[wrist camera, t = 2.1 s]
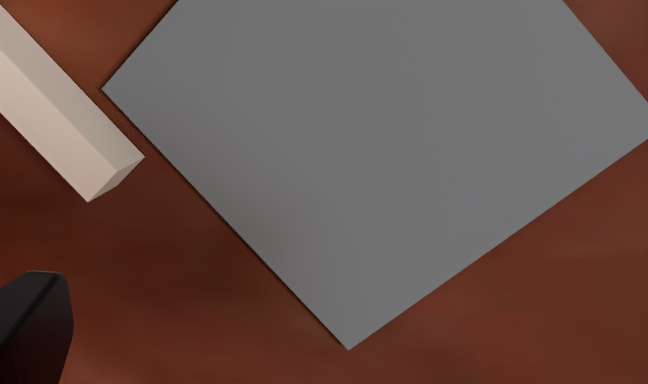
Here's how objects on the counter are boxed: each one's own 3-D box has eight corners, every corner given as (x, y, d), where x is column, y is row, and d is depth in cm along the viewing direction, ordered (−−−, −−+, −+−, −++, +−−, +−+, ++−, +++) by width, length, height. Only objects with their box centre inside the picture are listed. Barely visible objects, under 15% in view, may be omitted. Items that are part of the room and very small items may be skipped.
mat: (662, 123, 17) (666, 125, 17) (349, 345, 21) (348, 350, 21) (376, -221, 16) (374, -225, 16) (106, 87, 20) (101, 89, 20)
